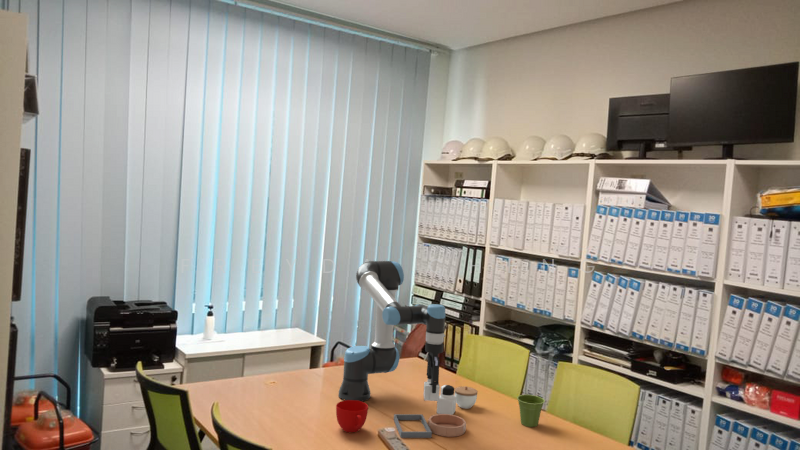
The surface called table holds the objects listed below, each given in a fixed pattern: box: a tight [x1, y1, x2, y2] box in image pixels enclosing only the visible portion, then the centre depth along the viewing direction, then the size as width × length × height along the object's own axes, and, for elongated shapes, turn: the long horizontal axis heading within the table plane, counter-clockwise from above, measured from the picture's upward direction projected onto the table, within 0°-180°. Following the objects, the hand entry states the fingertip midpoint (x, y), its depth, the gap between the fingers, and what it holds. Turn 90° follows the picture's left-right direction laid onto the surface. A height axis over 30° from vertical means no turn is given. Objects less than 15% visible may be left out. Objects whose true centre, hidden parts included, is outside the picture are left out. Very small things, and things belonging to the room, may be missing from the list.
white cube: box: [423, 381, 441, 402], centre depth 242 cm, size 6×6×6 cm
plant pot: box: [516, 394, 546, 428], centre depth 255 cm, size 12×12×11 cm
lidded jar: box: [454, 386, 478, 410], centre depth 273 cm, size 11×11×9 cm
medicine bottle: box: [436, 384, 457, 415], centre depth 264 cm, size 7×7×12 cm
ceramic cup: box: [335, 400, 369, 433], centre depth 235 cm, size 13×17×10 cm
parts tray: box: [393, 413, 433, 439], centre depth 243 cm, size 13×20×2 cm, turn 9°
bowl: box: [427, 413, 467, 438], centre depth 243 cm, size 15×15×4 cm
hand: (431, 397), depth 242 cm, fingers closed on white cube, 6 cm apart
